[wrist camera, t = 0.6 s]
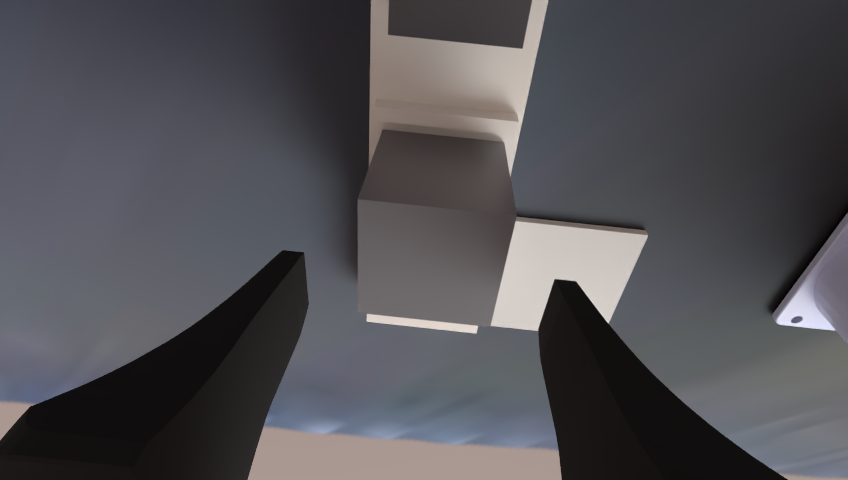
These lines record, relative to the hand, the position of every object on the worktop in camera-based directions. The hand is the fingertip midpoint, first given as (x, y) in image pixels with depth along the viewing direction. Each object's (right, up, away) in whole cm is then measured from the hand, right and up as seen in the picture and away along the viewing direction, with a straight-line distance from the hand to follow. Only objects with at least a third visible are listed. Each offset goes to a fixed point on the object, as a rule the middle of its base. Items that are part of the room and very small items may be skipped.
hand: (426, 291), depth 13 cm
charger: (0, +4, +5) cm, 6 cm away
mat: (+7, 0, +10) cm, 12 cm away
